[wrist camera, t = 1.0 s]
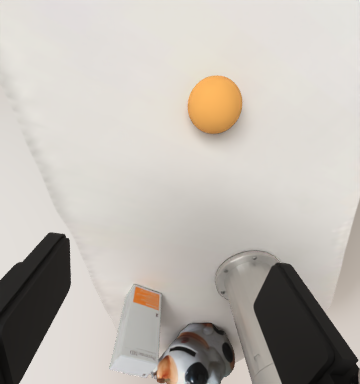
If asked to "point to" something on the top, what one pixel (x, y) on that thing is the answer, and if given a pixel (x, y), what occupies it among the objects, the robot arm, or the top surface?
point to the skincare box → (138, 333)
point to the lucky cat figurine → (196, 357)
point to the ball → (215, 104)
